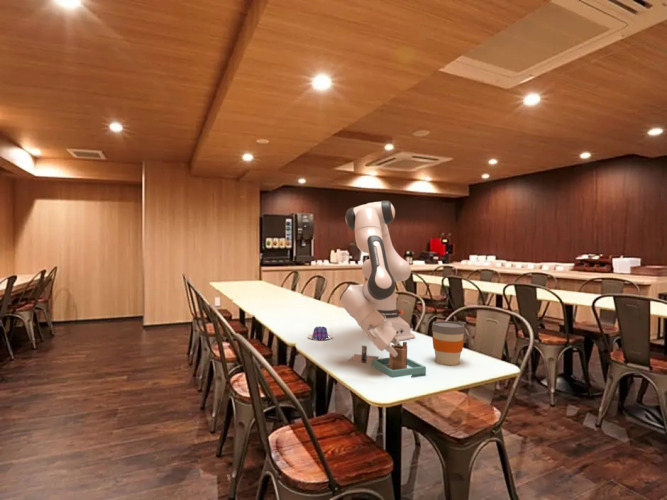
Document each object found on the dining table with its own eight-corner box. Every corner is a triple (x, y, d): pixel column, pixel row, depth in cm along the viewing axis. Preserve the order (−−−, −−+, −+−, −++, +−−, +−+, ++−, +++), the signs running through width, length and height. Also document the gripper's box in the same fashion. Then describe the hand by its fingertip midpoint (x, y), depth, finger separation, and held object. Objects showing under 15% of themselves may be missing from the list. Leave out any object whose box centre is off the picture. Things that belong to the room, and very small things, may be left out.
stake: (355, 356, 159) (355, 341, 159) (379, 359, 156) (379, 344, 156) (348, 363, 149) (348, 348, 149) (373, 366, 146) (374, 350, 146)
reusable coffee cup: (424, 358, 157) (425, 322, 157) (449, 355, 162) (450, 320, 162) (445, 368, 146) (446, 328, 145) (471, 364, 151) (472, 326, 150)
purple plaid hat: (329, 334, 197) (329, 324, 196) (335, 340, 185) (335, 329, 185) (306, 335, 194) (306, 325, 194) (310, 341, 182) (310, 330, 182)
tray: (403, 363, 150) (403, 356, 150) (425, 375, 137) (425, 366, 137) (371, 367, 145) (371, 359, 145) (391, 380, 132) (392, 371, 132)
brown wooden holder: (391, 366, 145) (392, 339, 145) (406, 367, 143) (407, 340, 143) (389, 370, 139) (389, 342, 139) (404, 372, 138) (405, 344, 137)
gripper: (372, 323, 133) (400, 354, 130) (383, 312, 153) (408, 339, 150) (359, 334, 135) (387, 365, 132) (372, 323, 154) (396, 350, 151)
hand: (398, 351), depth 141 cm, fingers open, 8 cm apart
